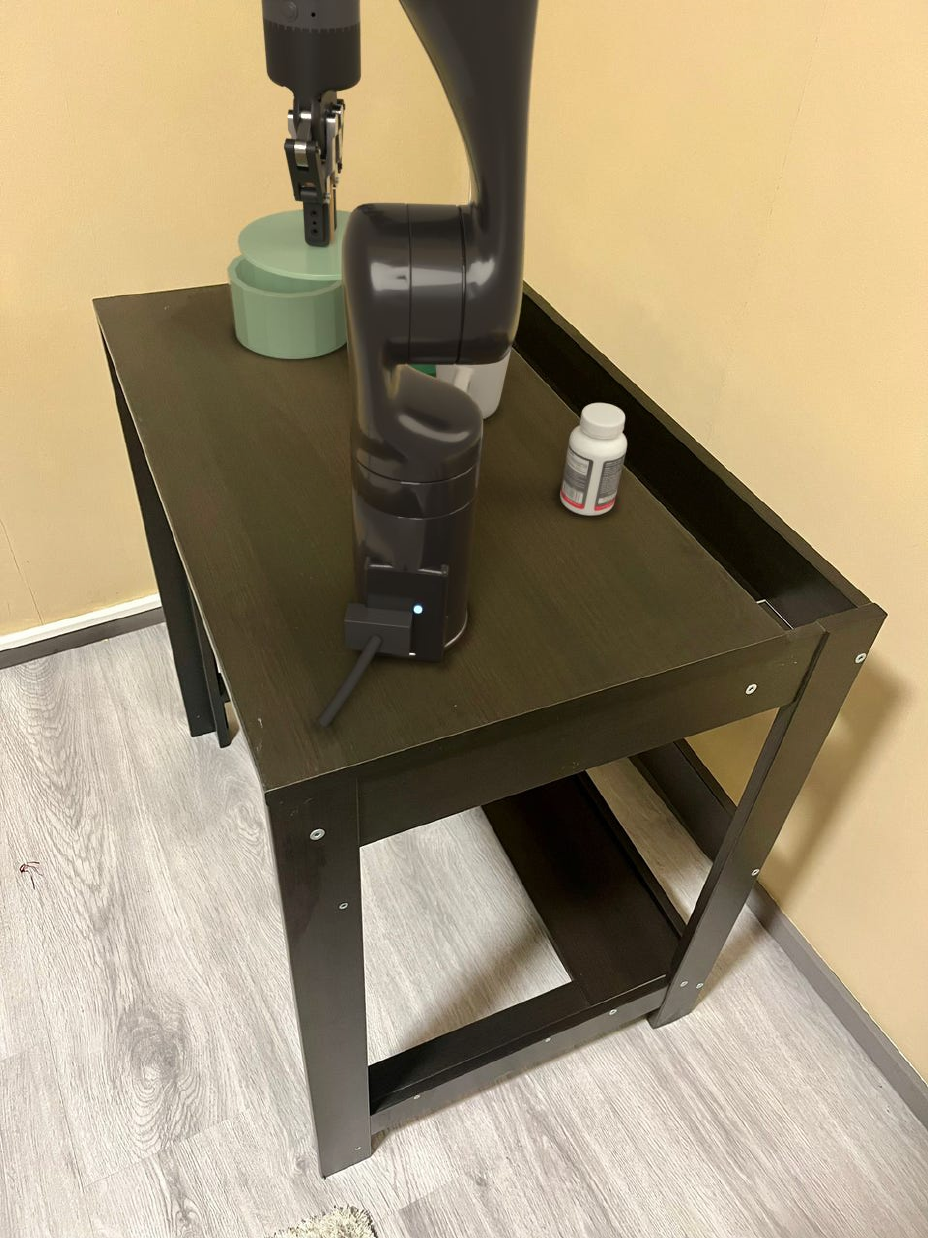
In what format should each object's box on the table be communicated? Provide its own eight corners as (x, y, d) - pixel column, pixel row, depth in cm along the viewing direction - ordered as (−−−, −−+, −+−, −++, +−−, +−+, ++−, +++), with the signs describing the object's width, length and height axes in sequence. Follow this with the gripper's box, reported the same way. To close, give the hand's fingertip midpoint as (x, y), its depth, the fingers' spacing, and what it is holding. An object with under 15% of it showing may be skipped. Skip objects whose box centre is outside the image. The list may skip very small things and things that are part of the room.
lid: (391, 295, 77) (392, 222, 73) (219, 278, 78) (210, 204, 73) (412, 228, 88) (413, 161, 84) (261, 213, 88) (255, 146, 84)
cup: (492, 449, 94) (499, 380, 88) (417, 436, 95) (420, 367, 89) (509, 396, 101) (517, 330, 96) (440, 385, 102) (443, 318, 97)
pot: (340, 364, 104) (338, 302, 99) (221, 352, 104) (213, 289, 99) (359, 310, 114) (358, 250, 108) (251, 299, 114) (245, 239, 109)
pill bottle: (609, 485, 91) (628, 399, 84) (617, 518, 87) (638, 431, 80) (556, 483, 90) (570, 396, 83) (562, 516, 86) (578, 429, 80)
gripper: (343, 37, 65) (349, 274, 77) (373, -2, 75) (374, 212, 87) (240, 27, 65) (261, 265, 77) (283, -11, 75) (296, 205, 87)
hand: (321, 236), depth 82 cm, fingers closed on lid, 2 cm apart
